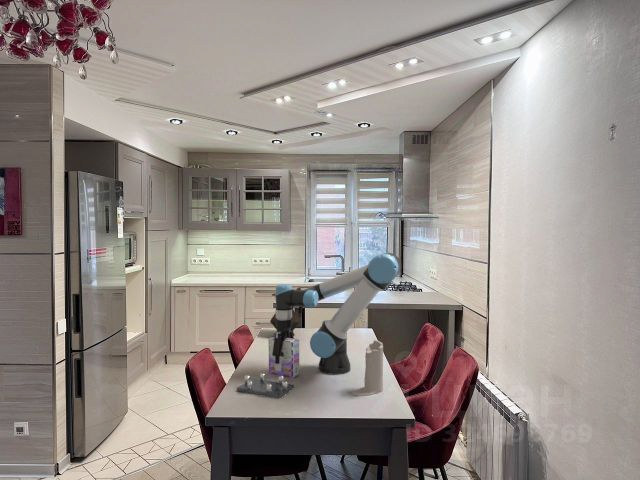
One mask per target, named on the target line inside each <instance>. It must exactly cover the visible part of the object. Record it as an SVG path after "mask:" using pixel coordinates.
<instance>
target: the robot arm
mask: <svg viewBox="0 0 640 480" xmlns="http://www.w3.org/2000/svg"><path fill="white" fill-rule="evenodd" d="M401 271H402V261H401V260H400V258H399V256H398V255H396V254H394V253H392V252H384V253H380V254H377V255H375V256H374V257H373V258H371V260H370V261H369V262H368V264H367V265H366V264H365V265H364V266H361V267H358V268H356V269H353V270H351V271H348V272H346V273H342V274H340V275H337V276H335V277H333V278H330V279H328V280H325V281H323V282H320V283H318V284H315V285H312V286H310V287H307V288H305V289H301V290H296V289H293V286H292V285H291V284H287V283H286V284H282V283H281V284H278V285H276V286H275V293H276V294H275V296H276V297H275V296H274V297H275V311H274V312H275V313H276V318H277V319H276V327H277V328H278V333H277V332H275V333H274V335H273V337H274V346H273V353H272V355H273V356H275V370H277V371H281V356H280V355H281V351H282V346H283V342H284V341H285V339H286V338H293V339H295V338H294V336H293V332H294V330H293V328H292V319H291V318H292V306H293V307H298V308H299V307H303V308H315V307H317V305H318V304H319V302H320V301H323V300H325V299H327V298H330V297H333V296H335V295H338V294H340V293H341V294H342V293H343V292H346V291H348V290H353V289H354V288H355V289H354V290H353V291H352V292H351V293H350V295H349V297H347V299H346V300H345V301H344V302H343V304H342V305H341V307H340V308H339V309H338V310H337V311H336V313H335V314H334V315H333V317H332V318H331V319H327V320H323V321H322V323H321V326H320V327H319V328H318V330H317V331H316V332H314V333H313V334H312V336H311V337H310V339H309V346H310V349H311V351H312V353H313V354H314V355H315V356H316V357H319V358H320V359H319V361H318V371H319V372H321V373H323V374H327V375H341V374H342V375H343V374H346V373H349V372H350V371H351V362H350V358H349V356H348V348H347V347H348V344H347V342H348V331H349V330H350V328H351V327H352V326H353V325H354V323H355V322H356V321H357V320H358V319H359V317H360V316H361V315H362V313H363V312H364V311H365V310H366V309H367V307H368V306H369V305H370V303H372V301H373V300H374V298H375V297H376V296H377V294H378V293H379V292H385V290H387V288H388V287H389V286H390V284H392V282H393V280H394V279H395V278H397V277H398V276H399V274H400V272H401Z"/></svg>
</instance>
